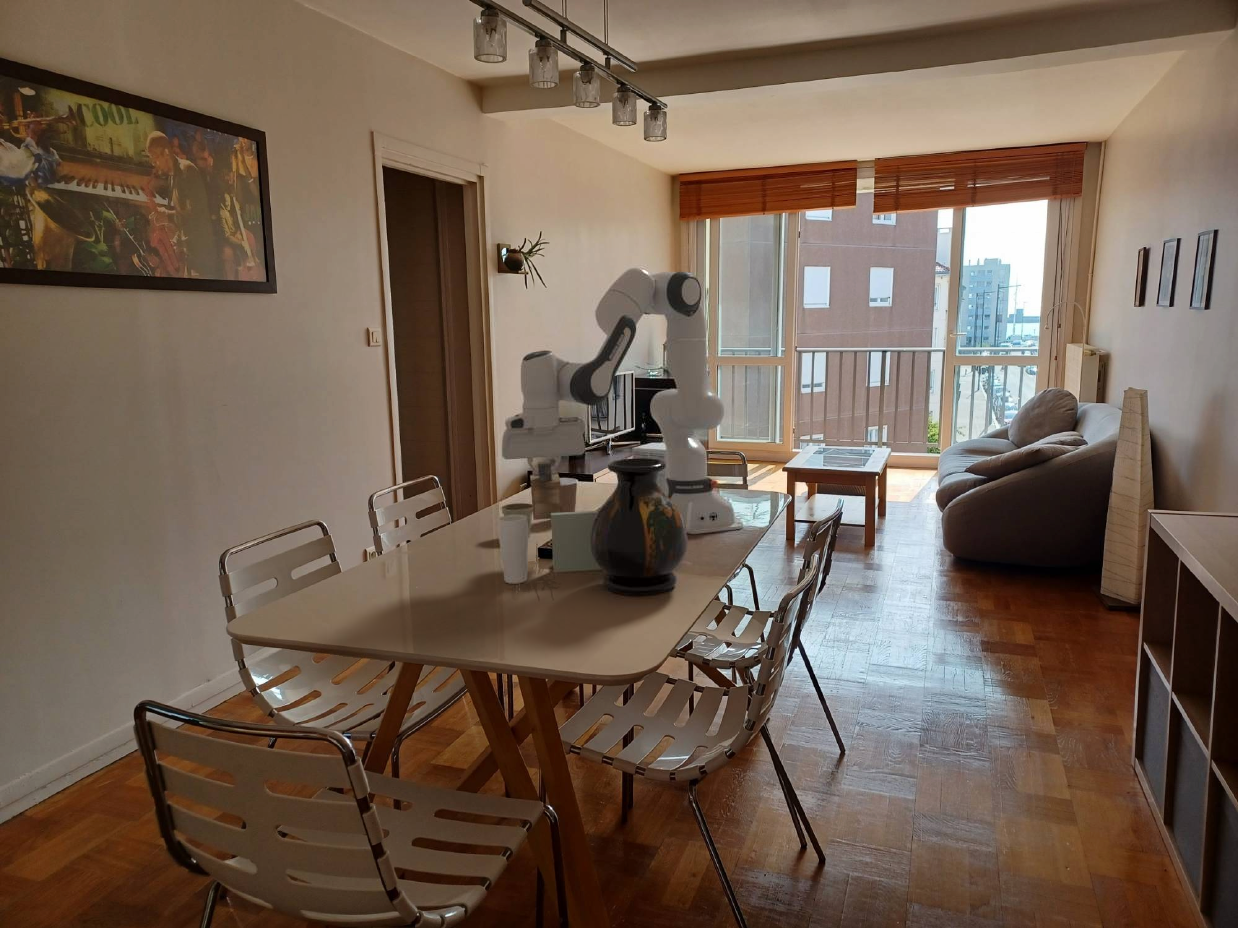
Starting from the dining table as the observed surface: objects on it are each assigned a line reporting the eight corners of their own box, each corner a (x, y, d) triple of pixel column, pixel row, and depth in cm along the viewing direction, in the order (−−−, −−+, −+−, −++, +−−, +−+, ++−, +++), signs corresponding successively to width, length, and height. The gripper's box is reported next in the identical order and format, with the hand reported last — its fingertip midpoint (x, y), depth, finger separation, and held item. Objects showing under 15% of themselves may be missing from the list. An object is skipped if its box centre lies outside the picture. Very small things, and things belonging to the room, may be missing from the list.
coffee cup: (586, 518, 258) (584, 479, 256) (566, 525, 249) (564, 485, 247) (558, 515, 263) (557, 476, 261) (538, 522, 255) (536, 482, 253)
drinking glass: (535, 577, 199) (532, 515, 197) (522, 586, 193) (519, 521, 190) (509, 575, 201) (505, 513, 199) (496, 584, 195) (492, 520, 192)
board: (617, 561, 211) (615, 505, 208) (620, 568, 205) (618, 511, 202) (552, 565, 209) (550, 509, 206) (553, 572, 203) (551, 514, 201)
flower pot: (539, 532, 242) (537, 502, 241) (532, 540, 233) (530, 510, 232) (506, 532, 243) (504, 502, 242) (498, 541, 234) (497, 510, 233)
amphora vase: (672, 605, 177) (669, 472, 172) (576, 596, 185) (571, 469, 180) (699, 575, 197) (697, 455, 192) (612, 568, 204) (608, 453, 200)
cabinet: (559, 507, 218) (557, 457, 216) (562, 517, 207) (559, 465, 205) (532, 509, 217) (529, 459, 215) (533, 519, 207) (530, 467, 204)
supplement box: (667, 503, 276) (666, 449, 273) (632, 499, 283) (631, 447, 280) (686, 495, 287) (686, 444, 284) (653, 492, 294) (652, 442, 291)
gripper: (583, 414, 211) (586, 469, 213) (499, 419, 209) (503, 475, 211) (585, 417, 205) (588, 474, 207) (499, 422, 202) (503, 480, 205)
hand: (544, 474), depth 209 cm, fingers closed on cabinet, 3 cm apart
